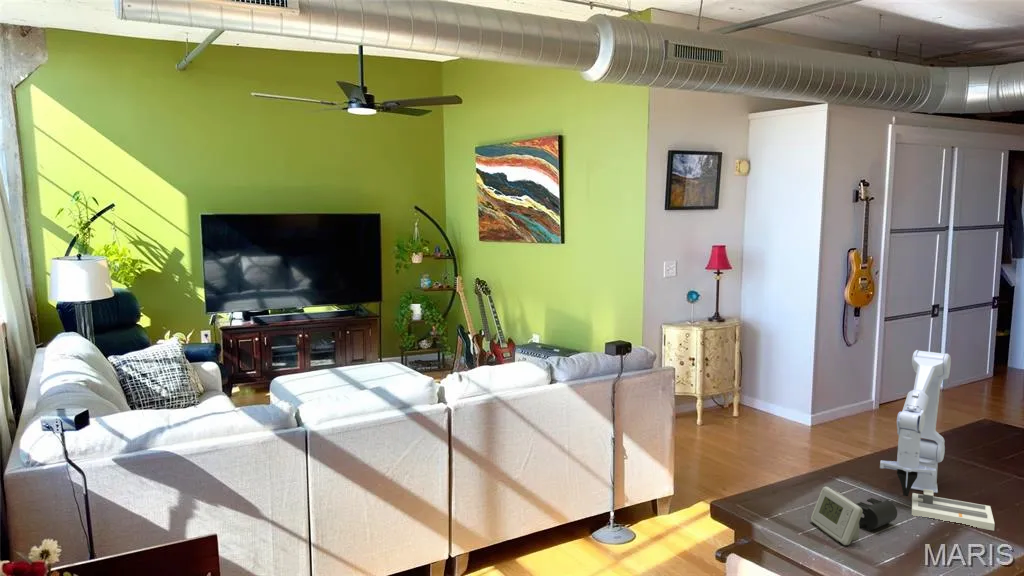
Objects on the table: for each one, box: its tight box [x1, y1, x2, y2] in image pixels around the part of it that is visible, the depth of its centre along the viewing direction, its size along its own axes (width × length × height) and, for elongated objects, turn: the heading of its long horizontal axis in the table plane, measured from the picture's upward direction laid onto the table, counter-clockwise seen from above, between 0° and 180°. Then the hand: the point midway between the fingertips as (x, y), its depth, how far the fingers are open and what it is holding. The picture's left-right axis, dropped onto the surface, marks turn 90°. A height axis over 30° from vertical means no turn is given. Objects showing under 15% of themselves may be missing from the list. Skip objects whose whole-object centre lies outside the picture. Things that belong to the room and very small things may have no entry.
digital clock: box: [810, 486, 863, 546], centre depth 197 cm, size 16×9×11 cm, turn 178°
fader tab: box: [922, 489, 935, 505], centre depth 213 cm, size 2×4×3 cm, turn 151°
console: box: [911, 492, 996, 532], centre depth 210 cm, size 20×14×3 cm
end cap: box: [855, 497, 898, 531], centre depth 202 cm, size 10×7×7 cm
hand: (905, 495), depth 216 cm, fingers closed
